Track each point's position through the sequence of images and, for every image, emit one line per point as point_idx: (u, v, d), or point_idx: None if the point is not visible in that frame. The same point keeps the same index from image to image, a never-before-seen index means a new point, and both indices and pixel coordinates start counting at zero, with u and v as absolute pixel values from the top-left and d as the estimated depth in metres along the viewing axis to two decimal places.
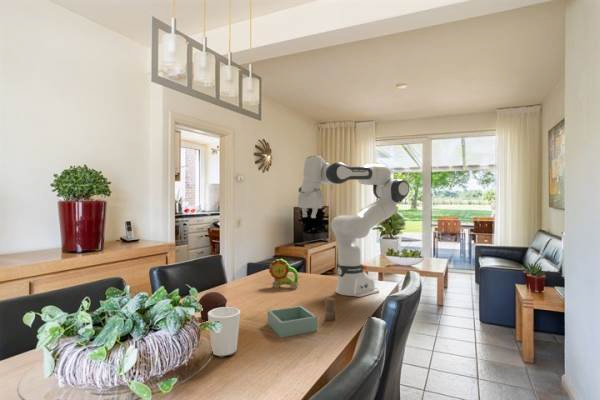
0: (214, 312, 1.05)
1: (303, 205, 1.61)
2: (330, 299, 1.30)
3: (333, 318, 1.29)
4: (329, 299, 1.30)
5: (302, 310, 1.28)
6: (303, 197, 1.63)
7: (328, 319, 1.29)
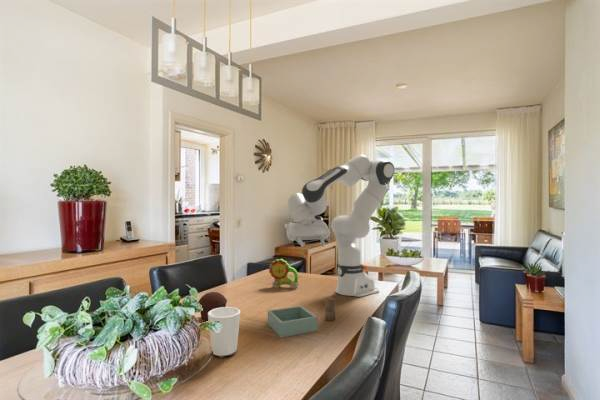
0: (214, 312, 1.04)
1: None
2: (330, 299, 1.30)
3: (333, 318, 1.29)
4: (329, 299, 1.30)
5: (302, 310, 1.28)
6: None
7: (328, 319, 1.29)
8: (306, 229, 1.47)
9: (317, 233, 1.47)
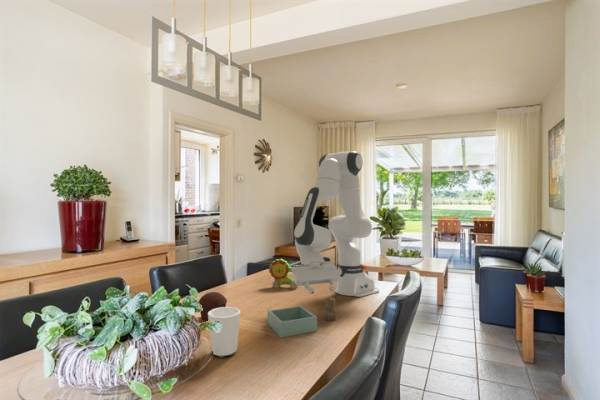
0: (214, 312, 1.05)
1: None
2: (330, 299, 1.30)
3: (333, 318, 1.29)
4: (329, 299, 1.30)
5: (302, 310, 1.28)
6: None
7: (328, 319, 1.29)
8: (314, 273, 1.39)
9: (326, 277, 1.39)
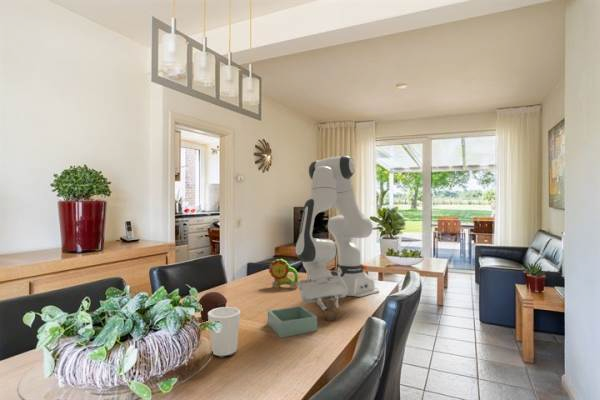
0: (214, 312, 1.05)
1: None
2: (330, 299, 1.30)
3: (333, 318, 1.29)
4: (329, 299, 1.30)
5: (302, 310, 1.28)
6: None
7: (328, 319, 1.29)
8: (322, 288, 1.33)
9: (335, 293, 1.34)
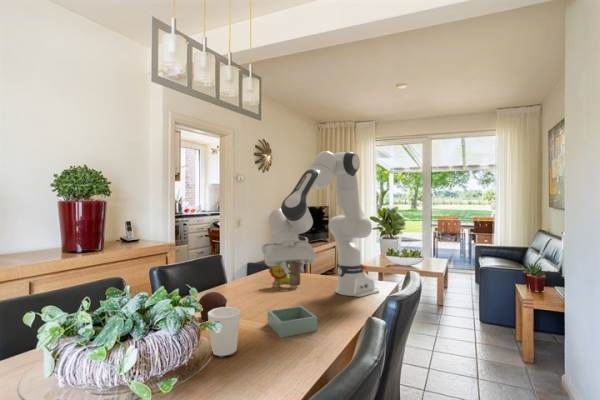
0: (214, 312, 1.05)
1: None
2: (295, 262, 1.22)
3: (297, 282, 1.21)
4: (294, 262, 1.22)
5: (302, 310, 1.28)
6: None
7: (292, 283, 1.21)
8: (287, 252, 1.26)
9: (301, 257, 1.26)
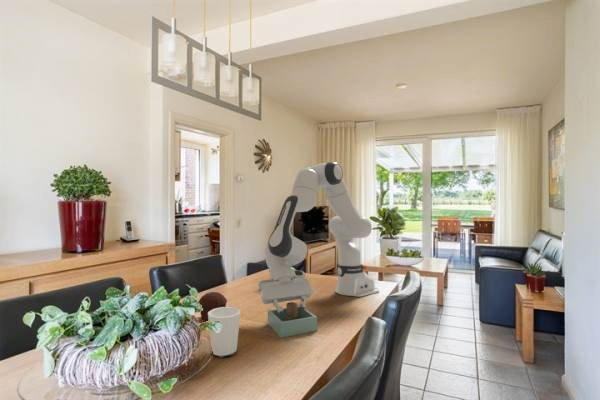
0: (214, 312, 1.05)
1: None
2: (292, 304, 1.22)
3: None
4: (291, 304, 1.22)
5: (302, 310, 1.28)
6: None
7: None
8: (284, 289, 1.25)
9: (297, 293, 1.26)
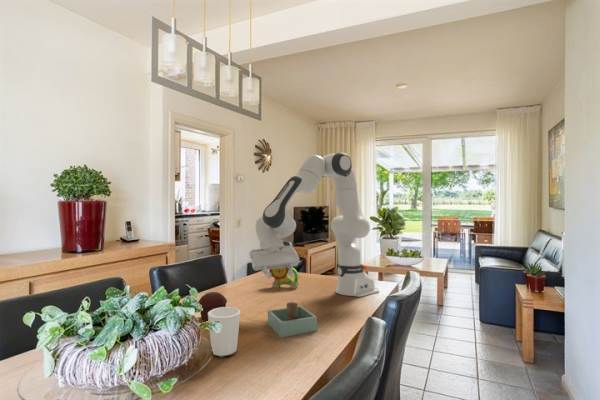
0: (214, 312, 1.04)
1: None
2: (292, 304, 1.22)
3: None
4: (291, 304, 1.22)
5: (302, 310, 1.28)
6: None
7: None
8: (273, 257, 1.37)
9: (285, 261, 1.38)
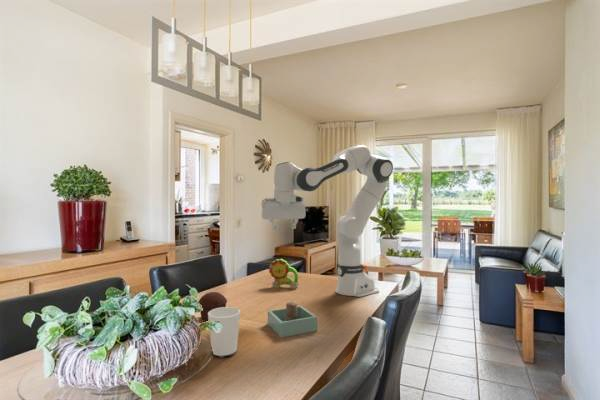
0: (214, 312, 1.04)
1: None
2: (291, 304, 1.22)
3: None
4: (290, 304, 1.22)
5: (302, 310, 1.28)
6: None
7: None
8: (282, 211, 1.46)
9: (292, 217, 1.48)
